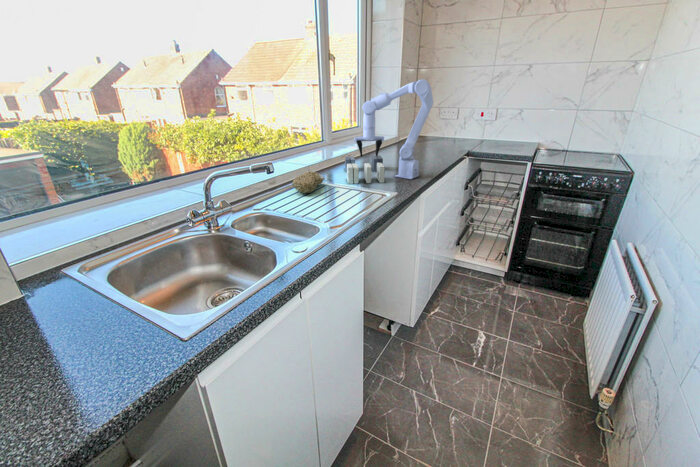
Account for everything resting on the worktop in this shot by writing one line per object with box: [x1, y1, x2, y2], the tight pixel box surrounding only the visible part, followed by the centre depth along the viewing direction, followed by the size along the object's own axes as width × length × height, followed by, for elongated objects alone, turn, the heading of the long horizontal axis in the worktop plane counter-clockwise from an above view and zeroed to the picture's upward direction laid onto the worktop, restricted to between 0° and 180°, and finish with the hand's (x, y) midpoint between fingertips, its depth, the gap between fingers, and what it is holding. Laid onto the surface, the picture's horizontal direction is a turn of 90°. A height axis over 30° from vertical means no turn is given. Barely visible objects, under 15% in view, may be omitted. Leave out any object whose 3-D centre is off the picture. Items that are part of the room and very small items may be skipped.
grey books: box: [344, 155, 384, 173], centre depth 177 cm, size 19×9×6 cm, turn 94°
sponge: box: [292, 171, 325, 194], centre depth 143 cm, size 13×8×20 cm
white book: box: [363, 162, 373, 184], centre depth 156 cm, size 2×9×8 cm, turn 4°
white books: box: [346, 162, 385, 185], centre depth 156 cm, size 17×9×8 cm, turn 94°
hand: (368, 156), depth 164 cm, fingers open, 7 cm apart
